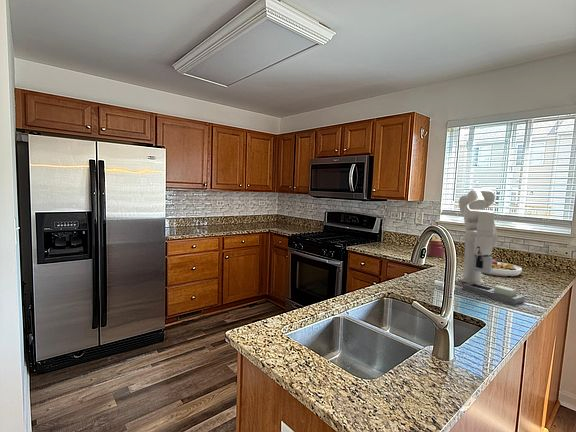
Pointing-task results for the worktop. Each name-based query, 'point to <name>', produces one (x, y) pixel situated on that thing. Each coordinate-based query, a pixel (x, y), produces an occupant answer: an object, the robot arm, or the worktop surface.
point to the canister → (435, 248)
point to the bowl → (504, 269)
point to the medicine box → (484, 264)
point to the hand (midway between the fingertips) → (482, 266)
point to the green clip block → (505, 291)
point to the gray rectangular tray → (492, 293)
